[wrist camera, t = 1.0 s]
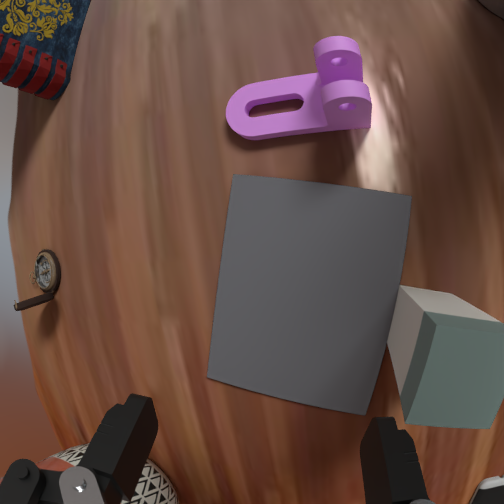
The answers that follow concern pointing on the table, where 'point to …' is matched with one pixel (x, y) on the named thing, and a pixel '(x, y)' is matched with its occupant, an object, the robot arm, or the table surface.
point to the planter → (148, 488)
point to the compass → (43, 279)
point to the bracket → (308, 96)
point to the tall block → (446, 360)
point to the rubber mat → (307, 289)
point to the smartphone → (489, 491)
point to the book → (39, 44)
